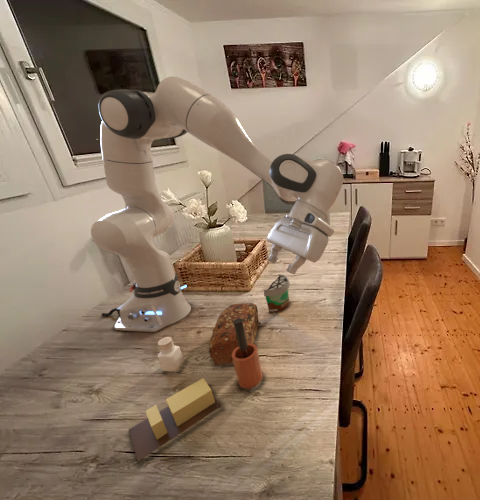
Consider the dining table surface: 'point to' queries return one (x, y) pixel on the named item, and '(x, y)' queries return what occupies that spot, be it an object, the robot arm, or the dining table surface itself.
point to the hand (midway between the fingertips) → (280, 267)
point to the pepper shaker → (169, 355)
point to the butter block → (190, 401)
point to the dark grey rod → (241, 336)
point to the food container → (278, 294)
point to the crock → (247, 366)
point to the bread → (232, 331)
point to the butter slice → (156, 422)
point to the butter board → (146, 438)
